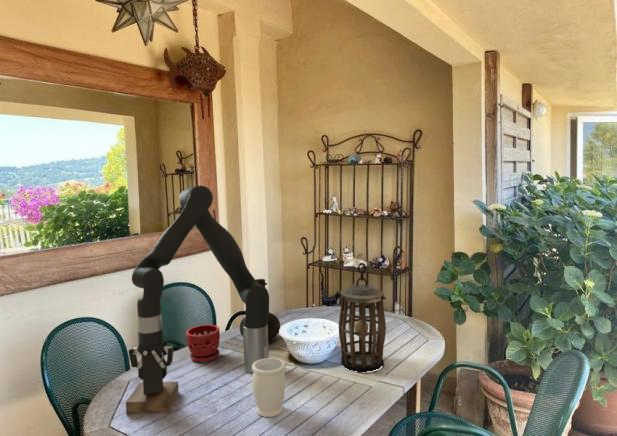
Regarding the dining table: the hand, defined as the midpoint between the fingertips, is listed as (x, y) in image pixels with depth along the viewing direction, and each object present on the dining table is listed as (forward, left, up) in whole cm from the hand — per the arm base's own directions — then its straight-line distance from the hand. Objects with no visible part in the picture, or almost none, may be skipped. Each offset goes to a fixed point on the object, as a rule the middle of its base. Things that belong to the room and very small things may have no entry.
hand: (152, 378), depth 145 cm
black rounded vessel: (-32, -52, -9) cm, 62 cm away
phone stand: (0, 0, -3) cm, 3 cm away
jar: (-38, +8, -9) cm, 40 cm away
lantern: (-73, -24, -9) cm, 77 cm away
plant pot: (-10, -35, -9) cm, 38 cm away
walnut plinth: (0, 0, -8) cm, 8 cm away
